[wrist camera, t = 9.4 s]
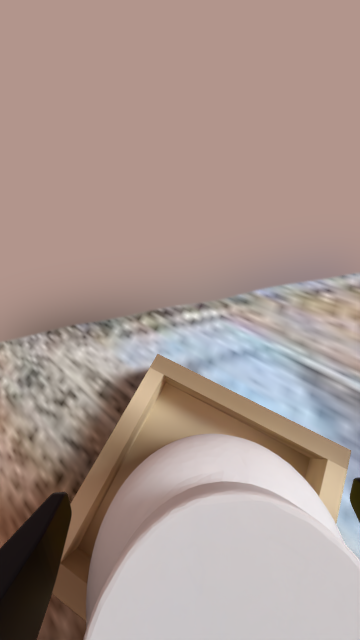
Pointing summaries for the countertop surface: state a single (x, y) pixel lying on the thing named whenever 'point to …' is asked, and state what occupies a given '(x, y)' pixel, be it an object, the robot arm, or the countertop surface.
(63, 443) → the countertop surface
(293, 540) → the supplement bottle
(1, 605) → the robot arm
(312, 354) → the countertop surface
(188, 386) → the tray
